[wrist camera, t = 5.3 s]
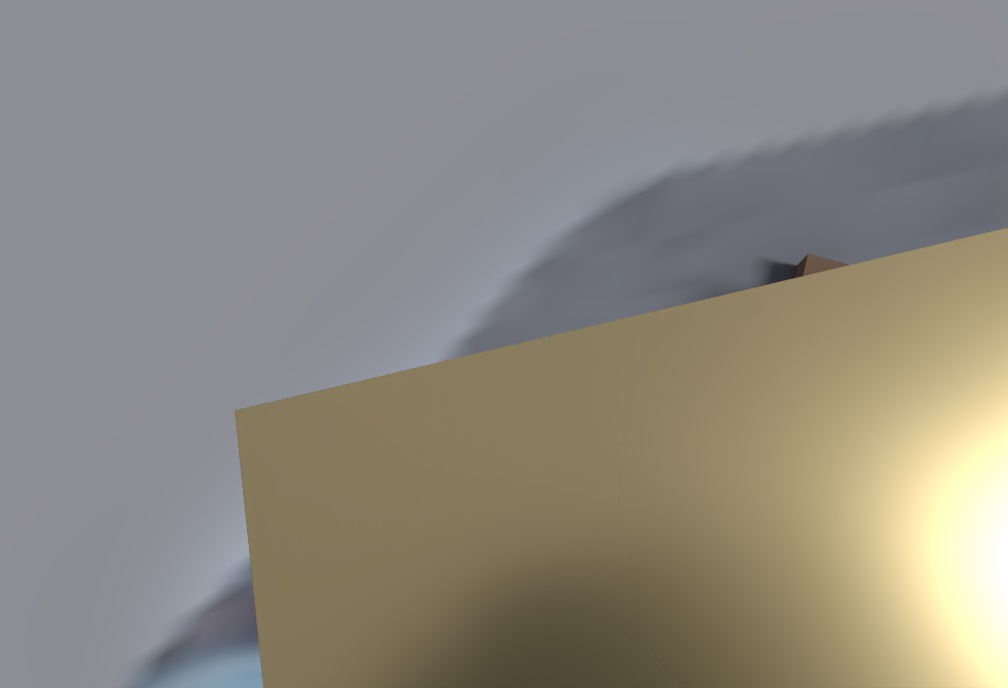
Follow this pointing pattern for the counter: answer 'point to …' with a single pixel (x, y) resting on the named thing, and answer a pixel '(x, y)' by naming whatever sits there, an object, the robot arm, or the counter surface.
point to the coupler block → (659, 498)
